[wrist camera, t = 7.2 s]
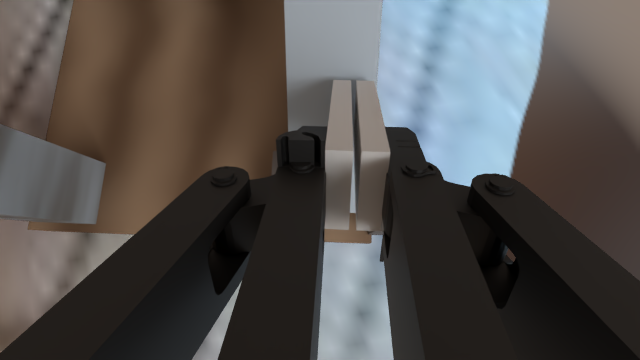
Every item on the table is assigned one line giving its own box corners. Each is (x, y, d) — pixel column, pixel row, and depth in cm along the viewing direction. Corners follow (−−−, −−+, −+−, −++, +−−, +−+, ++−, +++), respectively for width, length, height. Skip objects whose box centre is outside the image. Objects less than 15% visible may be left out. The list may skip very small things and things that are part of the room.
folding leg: (289, 211, 18) (278, -136, 13) (299, 180, 22) (293, -98, 16) (369, 213, 18) (393, -139, 12) (364, 182, 22) (381, -99, 16)
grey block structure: (52, 231, 24) (-465, 196, 9) (103, -39, 29) (-182, -389, 13) (377, 243, 23) (461, 230, 7) (379, -41, 27) (436, -433, 12)
